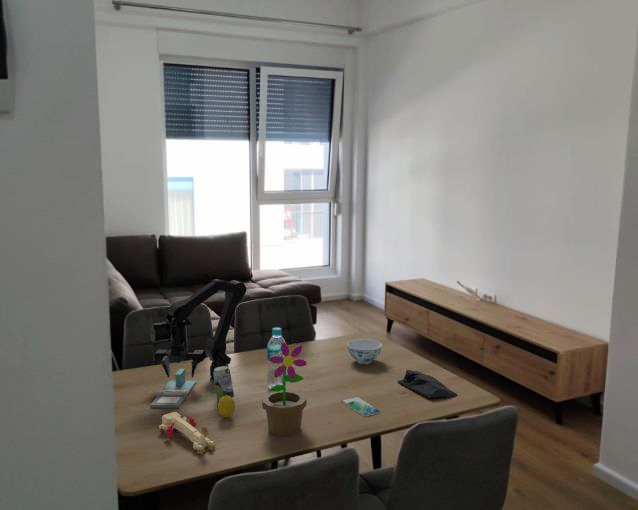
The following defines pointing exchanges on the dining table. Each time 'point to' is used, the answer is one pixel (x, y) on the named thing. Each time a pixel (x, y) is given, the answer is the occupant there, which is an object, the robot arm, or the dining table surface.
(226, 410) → the lemon
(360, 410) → the smartphone
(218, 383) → the beverage can
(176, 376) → the stub
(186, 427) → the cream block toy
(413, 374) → the dark grey cloth
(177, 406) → the plate
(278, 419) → the flowerpot
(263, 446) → the dining table surface
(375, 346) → the chinaware
